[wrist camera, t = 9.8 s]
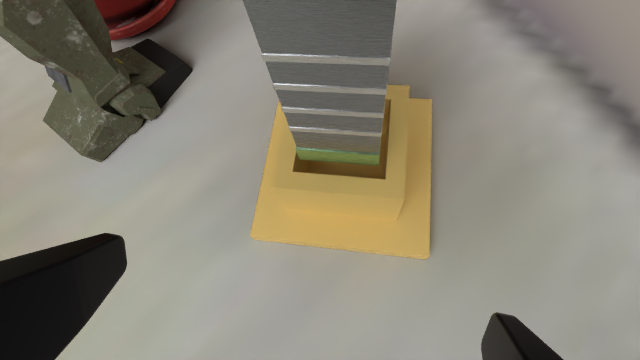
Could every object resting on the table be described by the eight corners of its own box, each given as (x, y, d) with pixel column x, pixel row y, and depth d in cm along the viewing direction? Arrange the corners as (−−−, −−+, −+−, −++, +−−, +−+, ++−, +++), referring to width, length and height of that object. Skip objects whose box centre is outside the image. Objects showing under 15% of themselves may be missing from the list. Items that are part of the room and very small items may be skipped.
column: (378, 166, 18) (411, -94, 6) (299, 160, 18) (206, -87, 7) (383, 99, 19) (417, -207, 8) (310, 95, 20) (248, -193, 9)
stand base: (426, 259, 21) (446, 241, 16) (254, 239, 23) (226, 218, 18) (429, 107, 25) (446, 57, 20) (283, 99, 26) (266, 51, 22)
